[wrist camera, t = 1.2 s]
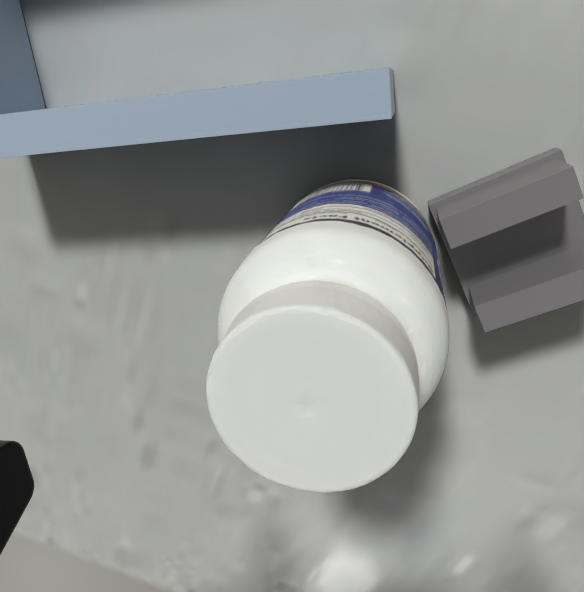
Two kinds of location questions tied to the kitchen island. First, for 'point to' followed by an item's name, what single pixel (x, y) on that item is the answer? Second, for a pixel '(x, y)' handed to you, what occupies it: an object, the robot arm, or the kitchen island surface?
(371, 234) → the pill bottle
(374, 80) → the end holder
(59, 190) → the kitchen island surface
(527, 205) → the clip
